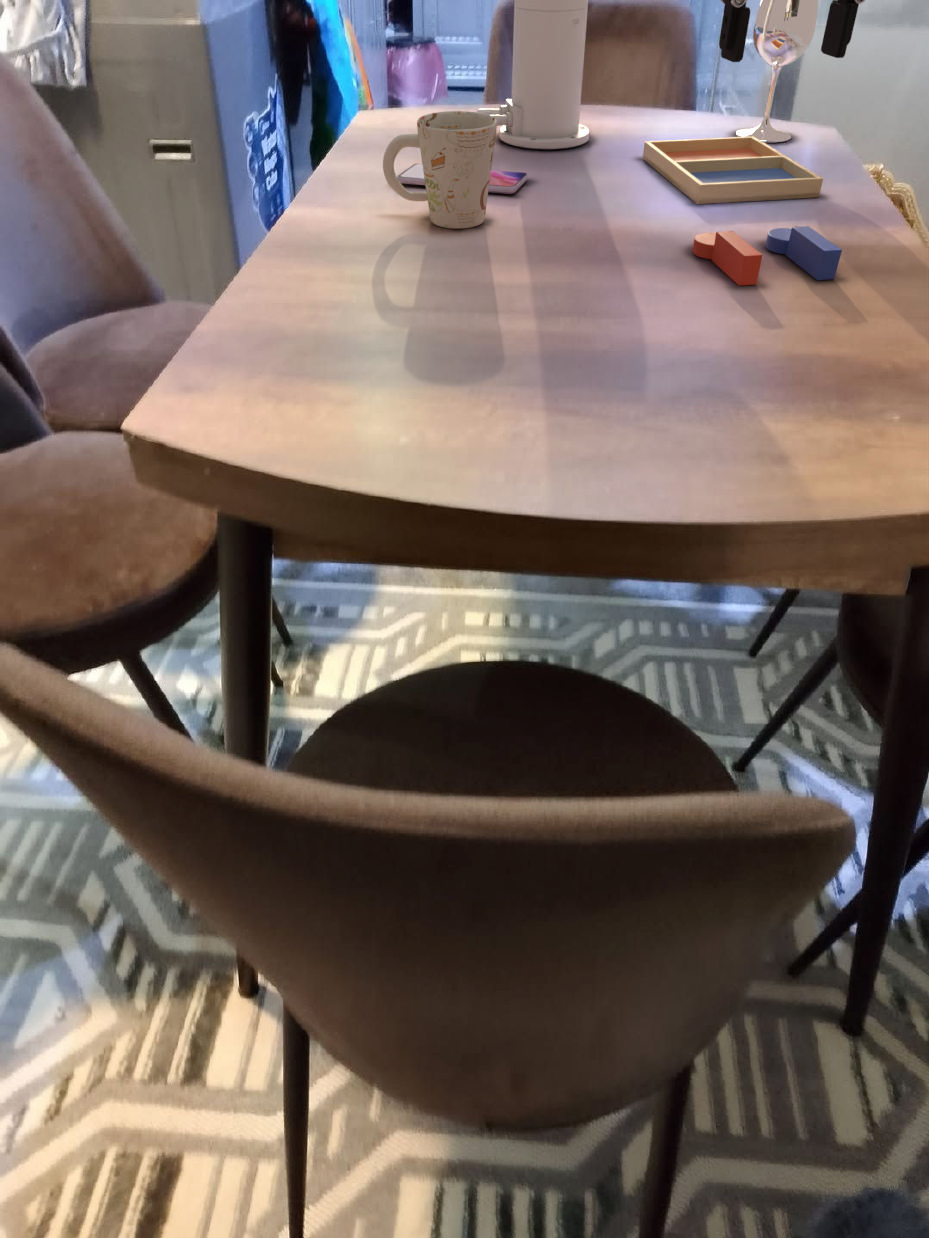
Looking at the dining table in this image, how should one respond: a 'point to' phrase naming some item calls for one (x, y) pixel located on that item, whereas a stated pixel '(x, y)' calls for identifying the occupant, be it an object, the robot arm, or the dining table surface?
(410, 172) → the smartphone
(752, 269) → the rust-red brick
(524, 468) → the dining table surface
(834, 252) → the blue foam brick
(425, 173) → the mug
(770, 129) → the wineglass
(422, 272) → the dining table surface
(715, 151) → the tray
